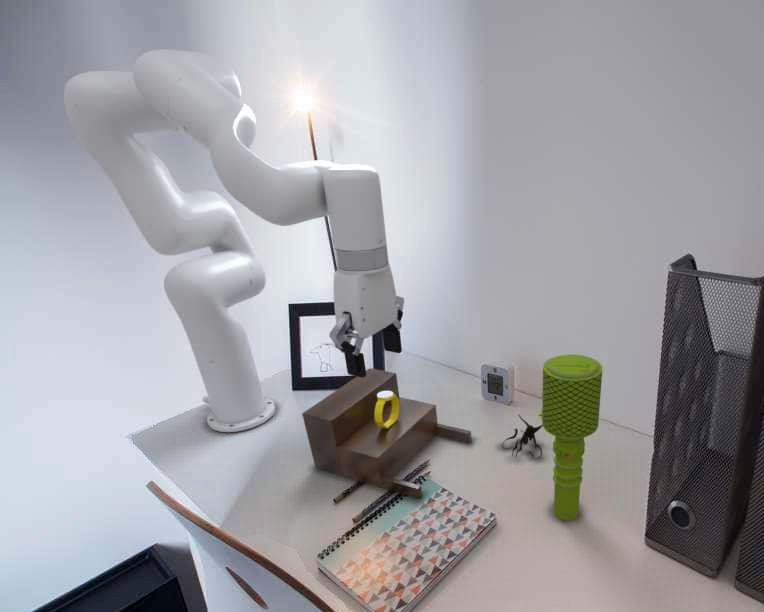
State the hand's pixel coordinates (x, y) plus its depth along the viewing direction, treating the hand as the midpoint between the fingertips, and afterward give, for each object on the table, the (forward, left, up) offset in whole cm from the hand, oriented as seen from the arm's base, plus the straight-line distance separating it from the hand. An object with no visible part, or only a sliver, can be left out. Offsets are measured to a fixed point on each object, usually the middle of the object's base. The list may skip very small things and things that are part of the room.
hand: (376, 362), depth 86 cm
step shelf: (+1, 0, -18) cm, 18 cm away
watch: (+1, 0, -12) cm, 12 cm away
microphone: (+34, -3, -18) cm, 38 cm away
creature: (+22, +10, -18) cm, 30 cm away
